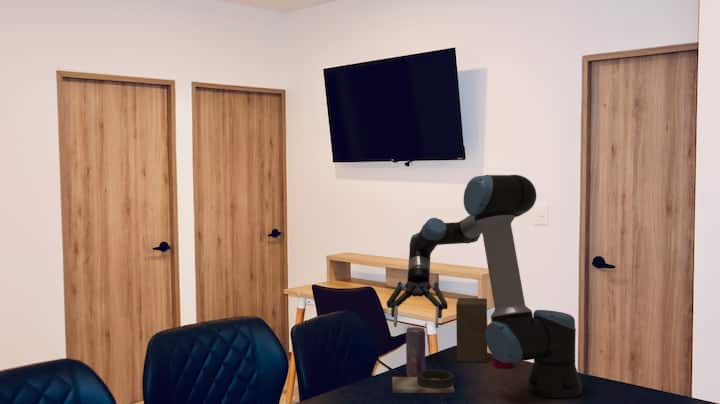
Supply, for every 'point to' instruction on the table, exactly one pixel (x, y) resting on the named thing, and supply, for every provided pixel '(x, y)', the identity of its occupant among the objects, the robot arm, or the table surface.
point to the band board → (414, 387)
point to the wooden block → (471, 329)
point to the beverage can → (415, 351)
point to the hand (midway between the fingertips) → (415, 325)
